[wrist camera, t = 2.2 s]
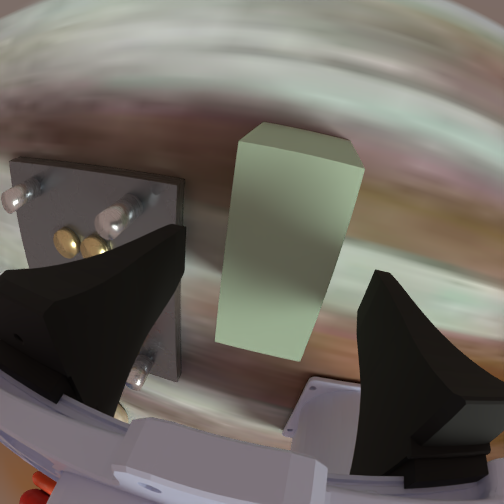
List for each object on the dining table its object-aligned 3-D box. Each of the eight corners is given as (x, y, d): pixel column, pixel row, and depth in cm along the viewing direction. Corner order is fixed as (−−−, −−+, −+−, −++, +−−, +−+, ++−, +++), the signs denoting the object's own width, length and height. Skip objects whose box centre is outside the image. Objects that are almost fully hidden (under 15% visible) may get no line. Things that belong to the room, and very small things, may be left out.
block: (306, 295, 18) (299, 361, 14) (238, 279, 19) (214, 341, 14) (349, 140, 14) (364, 169, 9) (263, 121, 14) (238, 140, 10)
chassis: (181, 373, 24) (166, 407, 21) (55, 325, 25) (35, 350, 22) (184, 179, 16) (154, 205, 13) (19, 156, 17) (-18, 174, 14)
